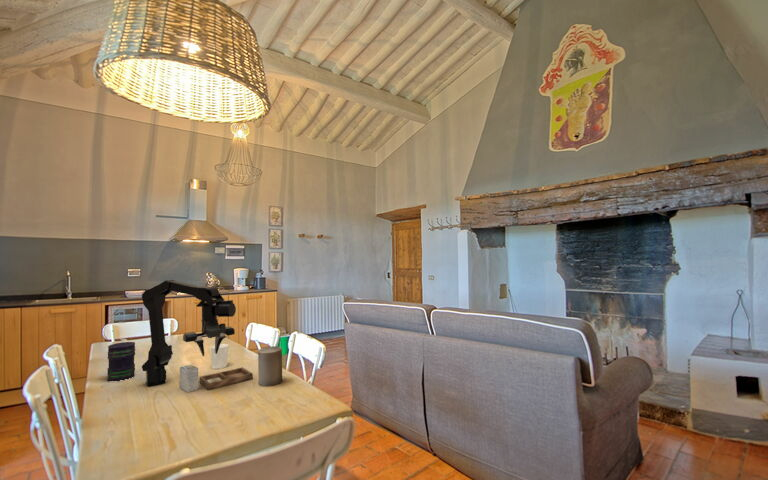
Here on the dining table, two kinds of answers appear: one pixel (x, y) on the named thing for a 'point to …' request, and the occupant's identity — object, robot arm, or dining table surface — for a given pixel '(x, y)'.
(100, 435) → the dining table surface
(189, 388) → the medicine box
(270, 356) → the pillar candle
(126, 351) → the storage jar
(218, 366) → the white cup
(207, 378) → the tray
